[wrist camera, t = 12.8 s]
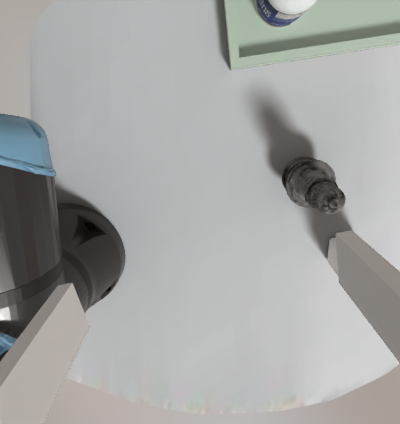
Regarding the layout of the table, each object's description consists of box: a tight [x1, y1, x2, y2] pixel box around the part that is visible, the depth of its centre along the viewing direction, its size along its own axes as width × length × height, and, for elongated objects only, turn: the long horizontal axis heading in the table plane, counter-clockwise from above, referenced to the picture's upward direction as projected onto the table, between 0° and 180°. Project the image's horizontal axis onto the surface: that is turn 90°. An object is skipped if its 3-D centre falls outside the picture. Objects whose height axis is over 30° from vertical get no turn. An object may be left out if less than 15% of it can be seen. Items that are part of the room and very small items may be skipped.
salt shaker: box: [282, 157, 345, 214], centre depth 36 cm, size 6×6×12 cm
